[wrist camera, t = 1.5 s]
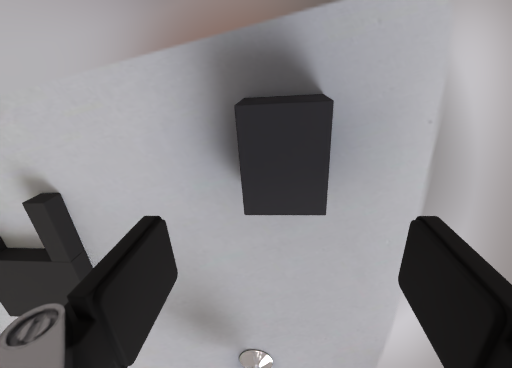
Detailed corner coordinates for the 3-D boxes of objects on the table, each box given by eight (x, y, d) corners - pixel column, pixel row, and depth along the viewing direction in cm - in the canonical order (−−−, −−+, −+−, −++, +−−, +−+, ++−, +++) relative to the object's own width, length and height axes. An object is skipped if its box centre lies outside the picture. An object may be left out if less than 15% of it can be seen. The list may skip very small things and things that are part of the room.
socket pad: (-44, 194, 26) (-68, 203, 24) (60, 193, 25) (42, 202, 23) (25, 302, 33) (9, 316, 31) (109, 306, 31) (98, 321, 29)
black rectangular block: (243, 98, 19) (234, 105, 15) (323, 93, 18) (333, 100, 15) (250, 191, 22) (244, 215, 19) (318, 190, 22) (325, 215, 18)
